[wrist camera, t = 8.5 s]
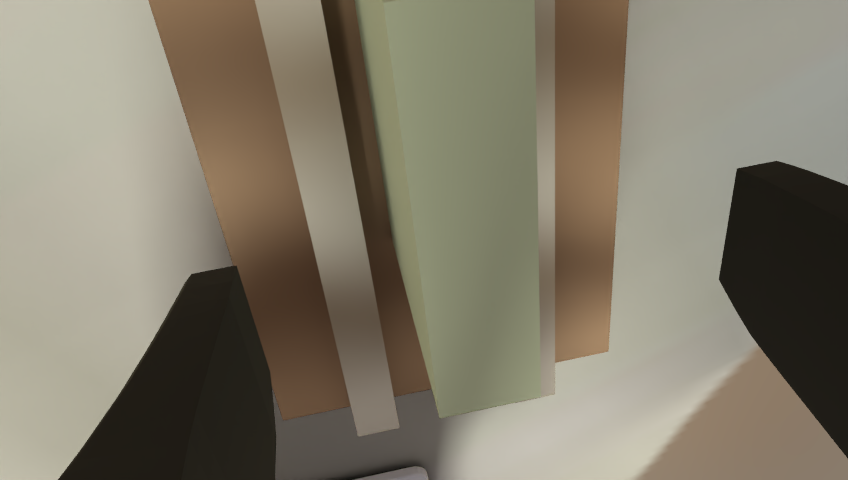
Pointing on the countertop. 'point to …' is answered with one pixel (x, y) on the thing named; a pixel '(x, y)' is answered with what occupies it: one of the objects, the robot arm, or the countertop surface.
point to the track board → (379, 189)
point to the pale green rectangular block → (461, 186)
